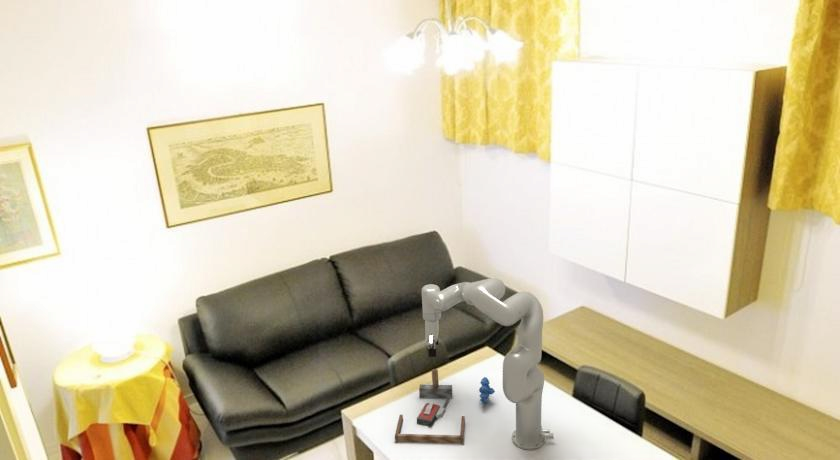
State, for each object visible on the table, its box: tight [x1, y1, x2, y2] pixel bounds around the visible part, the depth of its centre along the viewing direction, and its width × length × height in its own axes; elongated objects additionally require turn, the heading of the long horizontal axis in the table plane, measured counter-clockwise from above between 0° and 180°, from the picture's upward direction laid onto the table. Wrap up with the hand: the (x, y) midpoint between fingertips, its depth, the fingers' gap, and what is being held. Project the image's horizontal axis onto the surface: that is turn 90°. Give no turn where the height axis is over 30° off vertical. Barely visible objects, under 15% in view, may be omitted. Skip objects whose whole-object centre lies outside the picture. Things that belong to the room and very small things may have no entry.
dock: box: [394, 414, 466, 445], centre depth 242 cm, size 26×14×3 cm, turn 83°
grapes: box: [478, 376, 496, 405], centre depth 257 cm, size 12×7×12 cm, turn 167°
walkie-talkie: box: [416, 398, 451, 428], centre depth 254 cm, size 9×4×20 cm
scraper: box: [418, 368, 453, 400], centre depth 263 cm, size 14×3×13 cm, turn 83°
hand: (433, 350), depth 258 cm, fingers open, 9 cm apart
